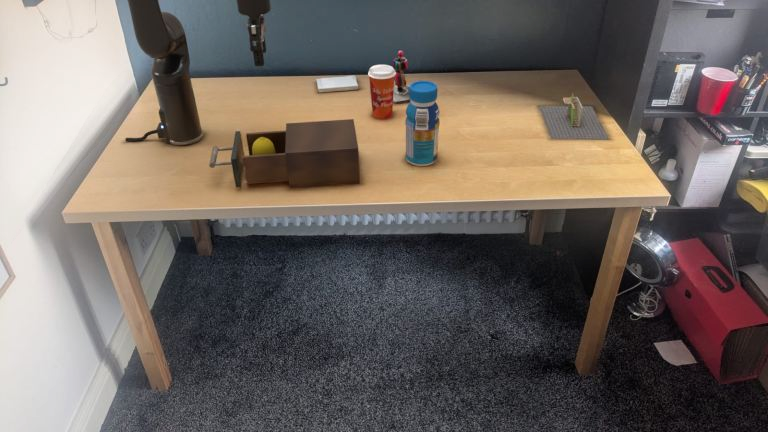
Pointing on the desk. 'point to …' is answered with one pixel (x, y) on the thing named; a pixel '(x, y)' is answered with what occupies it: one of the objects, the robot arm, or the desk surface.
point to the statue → (400, 80)
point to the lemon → (263, 147)
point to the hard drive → (337, 84)
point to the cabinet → (322, 153)
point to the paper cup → (382, 90)
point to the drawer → (256, 159)
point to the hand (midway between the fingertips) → (260, 58)
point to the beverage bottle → (422, 124)
